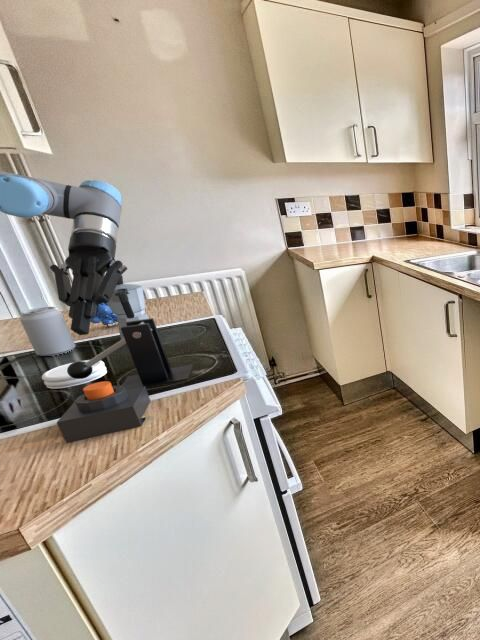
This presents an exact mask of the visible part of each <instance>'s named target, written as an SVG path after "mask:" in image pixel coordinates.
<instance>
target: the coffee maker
mask: <svg viewBox="0 0 480 640" xmlns="http://www.w3.org/2000/svg"><path fill="white" fill-rule="evenodd" d="M107 304H108V306H109V308H110V309H111V311H112V313H114V314H116V316H117V321H118V323H117V326H118V331H119V336H120V340H122V339H124V336H123V333H122V331H121V327H125V326H127V324H126V323H127V322H129V321H136V320H143V319H150V318H149V316H148V314H147V312H146V311H145V309H147V308H146V307H147V306H146V299H145V295H144V290H143V285H139V284H131V283H124V277H123V274H122V275H121V277H120V279H119V281H118V283H117V285H116V287H115V290H114V292H113V294H112V296H111V298H110V300H109V302H108V303H107Z"/></svg>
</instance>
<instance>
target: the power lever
mask: <svg viewBox="0 0 480 640" xmlns="http://www.w3.org/2000/svg"><path fill="white" fill-rule="evenodd" d="M139 324H145V323H144V322H141V323H139ZM139 324H138V325H139ZM151 330H152V329H151ZM125 345H127V343H126V341H125V338H124V339H122V340H121V339H120V340H118V341H117V342H115V343H114V344H112V345H111V346H110V347H108V348H106V349H105V350H103V351H102V352H100V353H99V354H97V355H95V356H94V357H93V358H91V359H88V360H89V361H88V362H83V361H84V360H78V361H73V362H74V363H73V362H71V363H72V364H70V365H69V366H68V368H67V373H68V375H69V376H71V377H72V378H75V379H83V378H86V377H88V376H89V375H90V374H91V373H92V366H93V365H94V364H96V363H97V362H99V361H103V359H105V358H107V357H108V356H110V355H111V354H113V353H114V352H116V351H117V350H119V349H120V348H122V347H123V346H125Z"/></svg>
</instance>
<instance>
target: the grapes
mask: <svg viewBox="0 0 480 640" xmlns="http://www.w3.org/2000/svg"><path fill="white" fill-rule="evenodd" d="M85 303H86V301H85ZM117 322H118V321H117V316H116V314H114V313H112V311H111V309H110V308H109V306H108V304H107V303H101V304H99V305H98V306H97V309H96V316H95V318H93V319H91V321H90V323H92V324H100V323H101V324H102V325H103V326H105V325H108V324H113V323H115V324H116V323H117Z"/></svg>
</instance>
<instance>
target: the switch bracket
mask: <svg viewBox="0 0 480 640" xmlns="http://www.w3.org/2000/svg"><path fill="white" fill-rule="evenodd" d="M141 322H144V323H145V324H139V323H141ZM126 324H127V326H125V327H121V331H122V333H123V336H124V338H125V341H126V346H127V348H128V351H129V353H130V357H131V359H132V362H133V364H134V366H135V370H136V373H137V374H133V375H128V376H127V377H126V378H125V380H124V381H123V383H122V384H121V386H123V387H124V388H125V389H126V390H129V389H134V388H139V387H146V389H147V388H152V387H156V386H161V385H166V384H167V385H168V384H172V383H176V382H182V381H187V380H189V378H190V376H191V373H192V371H193V368H194V366H195V365H194V364H193V363H192V364H187V365H181V366H176V367H171V365H170V362H169V358H168V355H167V353H166V350H165V347H164V345H163V342H162V339H161V336H160V333H159V331H158V328H157V325H156V323H155V319H154V318H153V317H151V318H149V319H143V320H136V321H129V322H127V323H126ZM138 324H139V325H138ZM151 329H152V330H151Z"/></svg>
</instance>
